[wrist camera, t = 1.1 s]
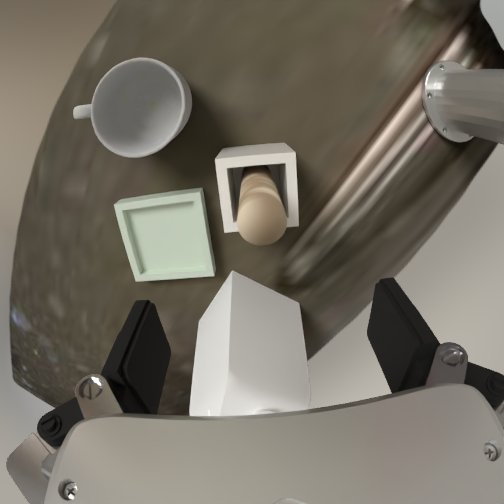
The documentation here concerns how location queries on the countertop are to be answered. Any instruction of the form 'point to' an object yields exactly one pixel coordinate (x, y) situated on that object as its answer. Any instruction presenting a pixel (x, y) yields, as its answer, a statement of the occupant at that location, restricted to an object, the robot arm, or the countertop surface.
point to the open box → (237, 158)
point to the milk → (249, 353)
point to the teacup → (138, 107)
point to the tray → (167, 235)
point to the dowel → (260, 207)
